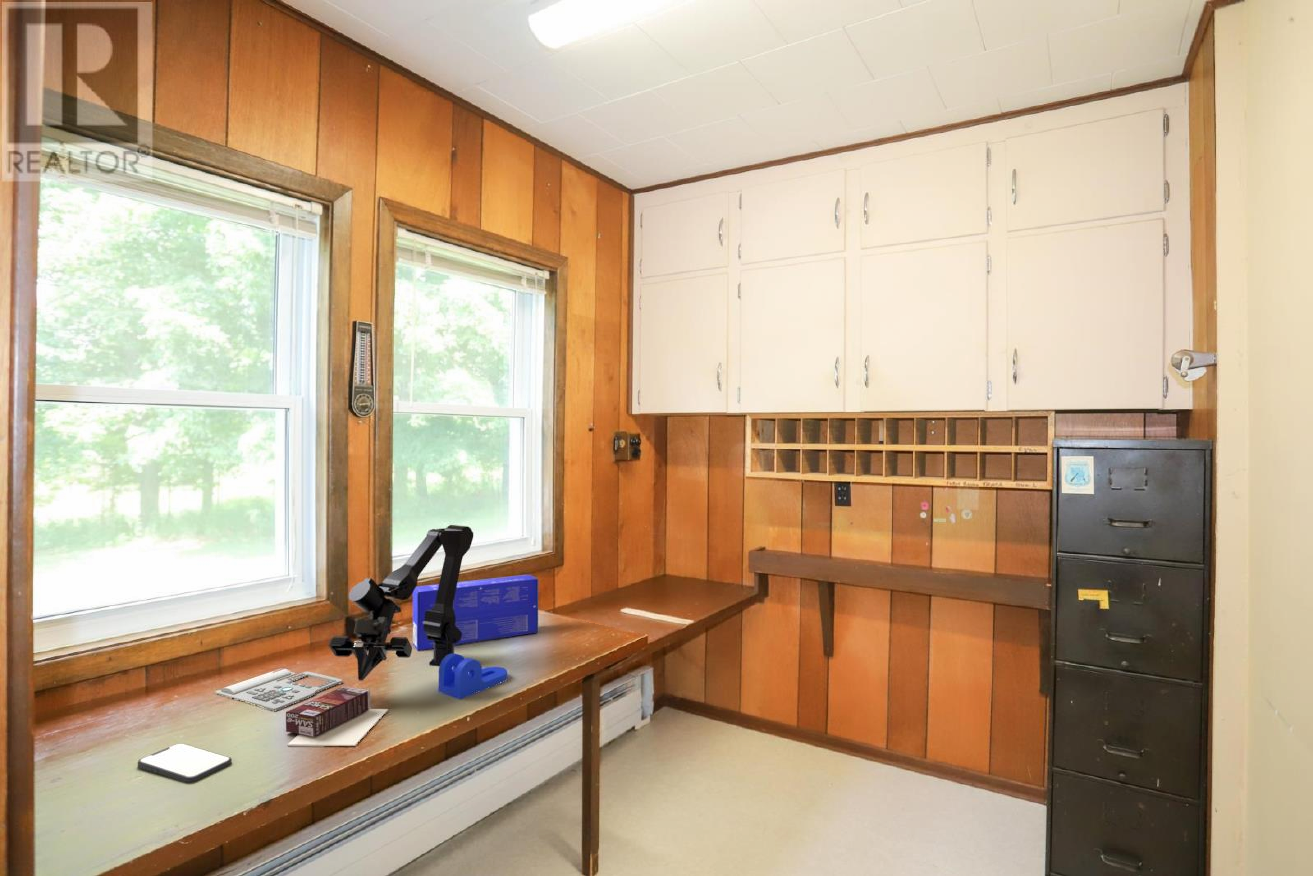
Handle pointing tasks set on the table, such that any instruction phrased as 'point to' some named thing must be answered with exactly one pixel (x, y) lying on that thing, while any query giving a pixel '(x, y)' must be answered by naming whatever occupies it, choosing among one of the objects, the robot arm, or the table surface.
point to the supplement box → (327, 711)
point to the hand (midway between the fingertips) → (360, 680)
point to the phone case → (184, 763)
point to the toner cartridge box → (483, 609)
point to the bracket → (466, 676)
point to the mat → (343, 731)
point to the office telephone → (276, 689)
